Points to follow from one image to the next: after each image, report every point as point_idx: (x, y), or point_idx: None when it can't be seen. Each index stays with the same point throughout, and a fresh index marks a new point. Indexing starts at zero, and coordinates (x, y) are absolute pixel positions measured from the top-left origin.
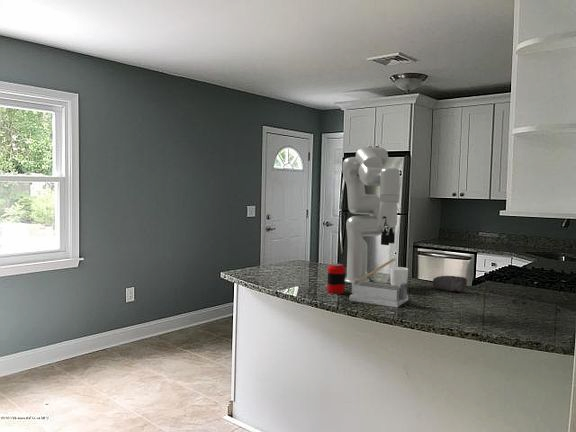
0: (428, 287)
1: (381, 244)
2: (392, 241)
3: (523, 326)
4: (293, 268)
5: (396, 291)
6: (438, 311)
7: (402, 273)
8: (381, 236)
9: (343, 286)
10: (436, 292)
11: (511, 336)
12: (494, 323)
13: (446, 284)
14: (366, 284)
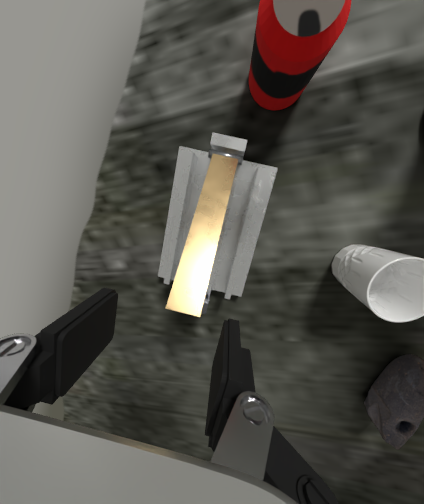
0: (415, 337)
1: (105, 290)
2: (213, 366)
3: None
4: None
5: (164, 281)
6: (167, 347)
7: (360, 297)
8: (58, 322)
9: (269, 100)
10: (352, 353)
11: None
12: (129, 419)
13: (383, 389)
14: None
